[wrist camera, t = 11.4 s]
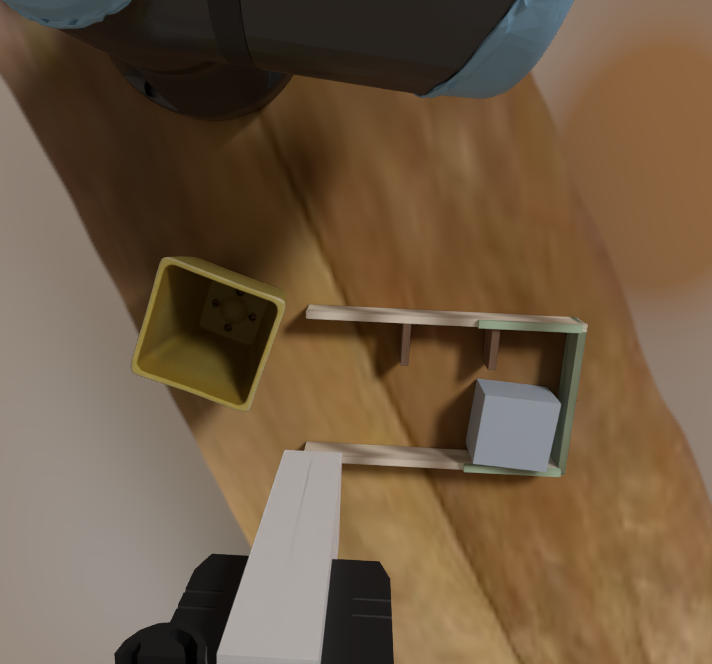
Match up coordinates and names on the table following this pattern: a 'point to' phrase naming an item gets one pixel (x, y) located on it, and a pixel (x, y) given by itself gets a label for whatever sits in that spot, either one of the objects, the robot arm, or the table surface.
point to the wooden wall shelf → (492, 325)
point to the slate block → (512, 425)
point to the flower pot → (208, 331)
